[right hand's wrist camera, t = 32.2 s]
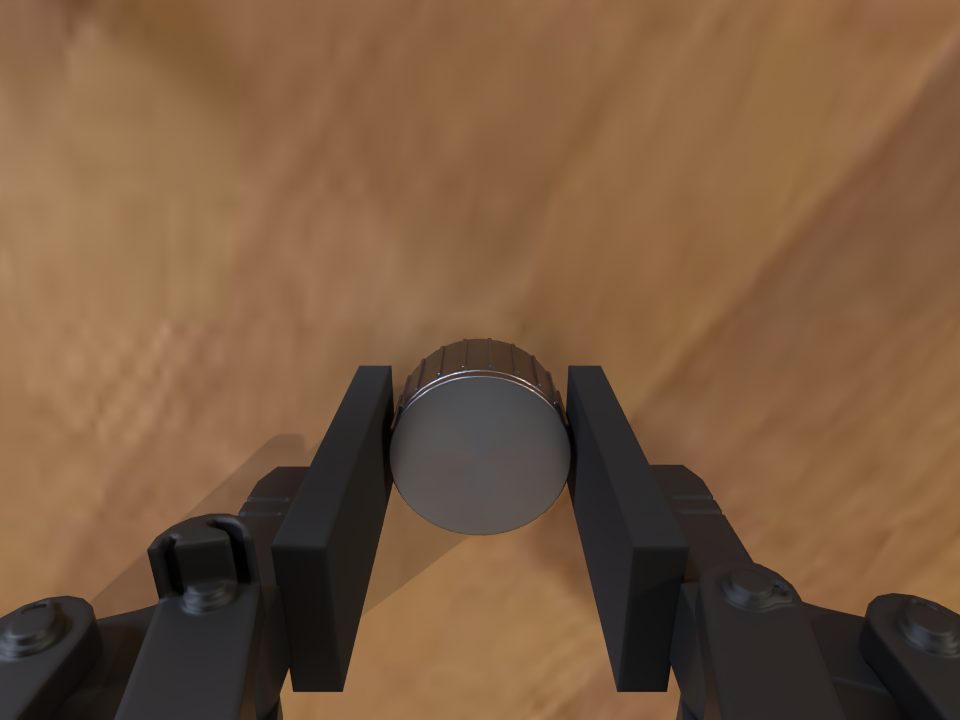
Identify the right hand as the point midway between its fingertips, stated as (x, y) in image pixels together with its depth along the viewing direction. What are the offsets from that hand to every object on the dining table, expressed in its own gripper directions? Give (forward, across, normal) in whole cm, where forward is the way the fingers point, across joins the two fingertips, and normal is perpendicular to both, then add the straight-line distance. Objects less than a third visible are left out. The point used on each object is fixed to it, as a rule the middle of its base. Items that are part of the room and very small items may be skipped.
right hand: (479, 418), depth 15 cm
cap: (-2, 0, 0) cm, 2 cm away
